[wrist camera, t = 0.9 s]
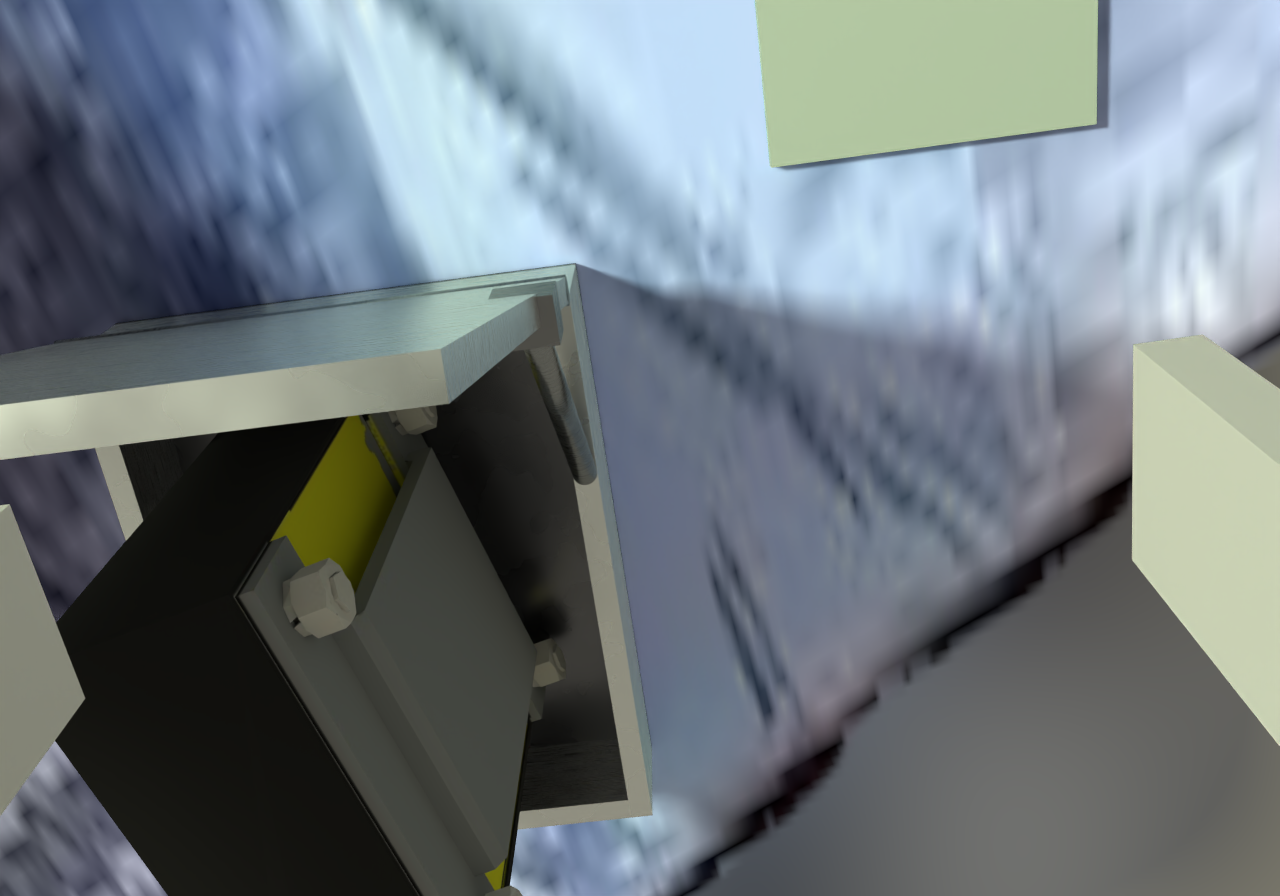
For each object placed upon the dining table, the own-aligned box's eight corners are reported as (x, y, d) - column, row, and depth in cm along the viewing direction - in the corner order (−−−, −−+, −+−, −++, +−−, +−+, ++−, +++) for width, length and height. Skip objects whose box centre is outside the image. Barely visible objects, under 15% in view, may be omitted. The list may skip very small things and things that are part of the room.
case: (262, 791, 62) (-40, 1470, 35) (73, 184, 50) (-616, 487, 23) (661, 747, 61) (677, 1413, 34) (565, 117, 49) (465, 348, 22)
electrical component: (579, 667, 59) (550, 1000, 41) (391, 734, 61) (281, 1084, 42) (417, 347, 53) (296, 568, 34) (211, 430, 54) (-11, 685, 36)
